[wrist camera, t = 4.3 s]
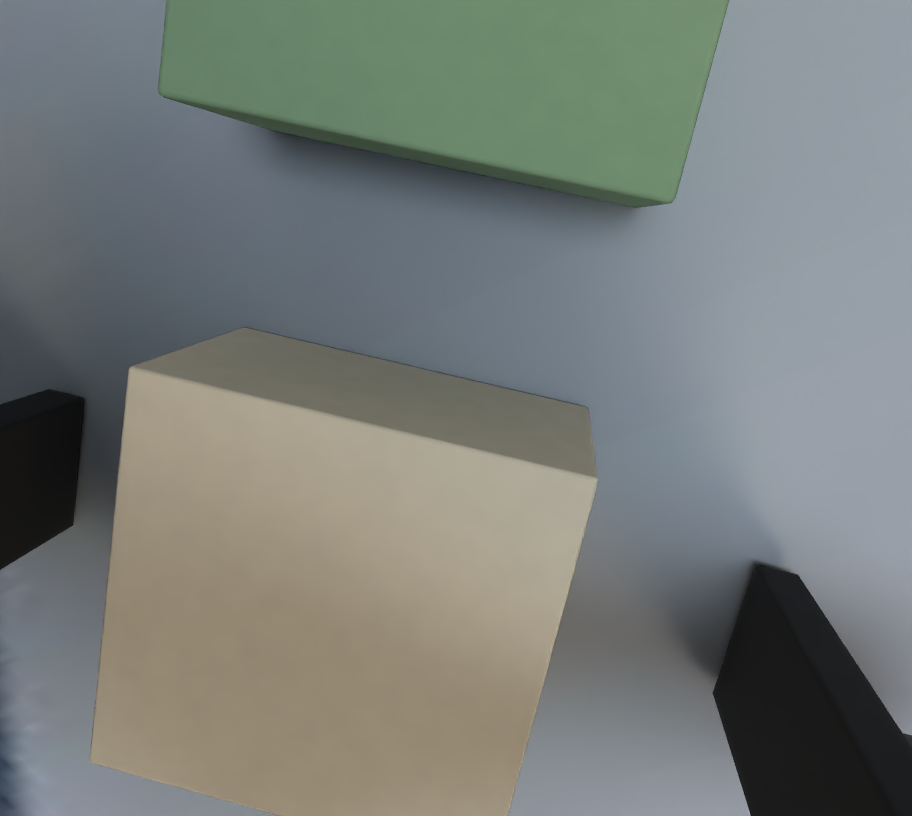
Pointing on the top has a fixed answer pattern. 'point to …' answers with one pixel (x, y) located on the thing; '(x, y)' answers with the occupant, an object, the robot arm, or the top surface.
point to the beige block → (334, 579)
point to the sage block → (463, 82)
